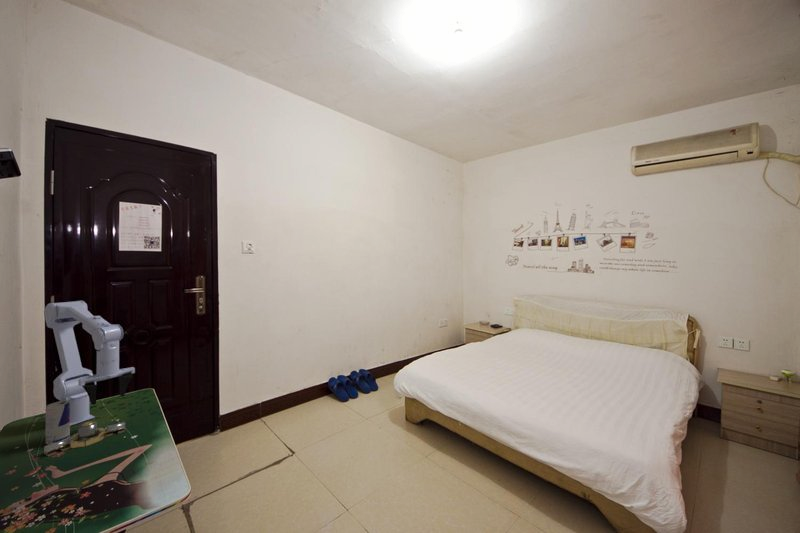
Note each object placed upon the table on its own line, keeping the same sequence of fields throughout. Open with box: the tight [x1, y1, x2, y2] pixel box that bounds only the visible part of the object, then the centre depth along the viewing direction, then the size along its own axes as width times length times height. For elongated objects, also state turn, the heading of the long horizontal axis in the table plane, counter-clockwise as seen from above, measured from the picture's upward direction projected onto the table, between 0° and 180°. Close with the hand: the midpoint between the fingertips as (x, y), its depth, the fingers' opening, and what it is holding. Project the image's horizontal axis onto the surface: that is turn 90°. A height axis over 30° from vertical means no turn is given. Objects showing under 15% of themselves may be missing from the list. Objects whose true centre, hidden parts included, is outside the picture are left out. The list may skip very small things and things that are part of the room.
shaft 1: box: [43, 437, 71, 457], centre depth 96 cm, size 5×3×3 cm
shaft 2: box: [104, 421, 126, 438], centre depth 107 cm, size 5×3×3 cm
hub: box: [77, 420, 98, 441], centre depth 102 cm, size 4×4×5 cm
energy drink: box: [45, 400, 71, 445], centre depth 102 cm, size 5×5×12 cm
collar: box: [68, 427, 107, 449], centre depth 102 cm, size 9×9×2 cm
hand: (108, 399), depth 109 cm, fingers open, 7 cm apart
